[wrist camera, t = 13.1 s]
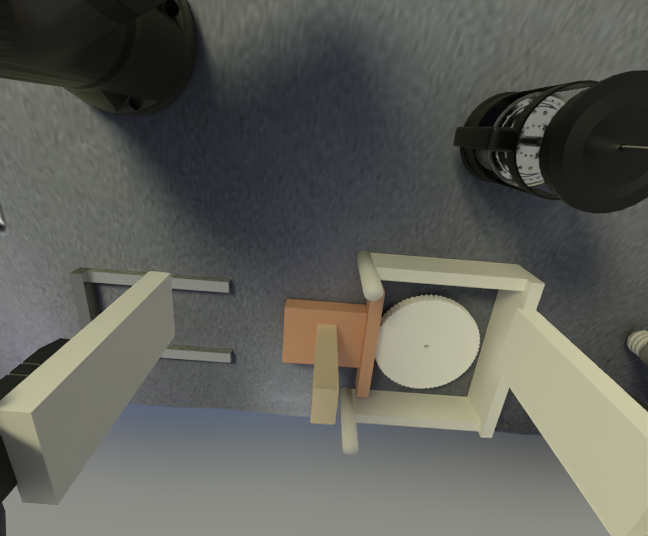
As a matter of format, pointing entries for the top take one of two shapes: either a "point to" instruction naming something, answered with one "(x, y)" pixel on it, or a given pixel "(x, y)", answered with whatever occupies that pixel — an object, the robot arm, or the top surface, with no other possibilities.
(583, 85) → the french press
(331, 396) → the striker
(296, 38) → the top surface
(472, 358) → the plastic lid
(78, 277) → the rail track
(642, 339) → the light bulb
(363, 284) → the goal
